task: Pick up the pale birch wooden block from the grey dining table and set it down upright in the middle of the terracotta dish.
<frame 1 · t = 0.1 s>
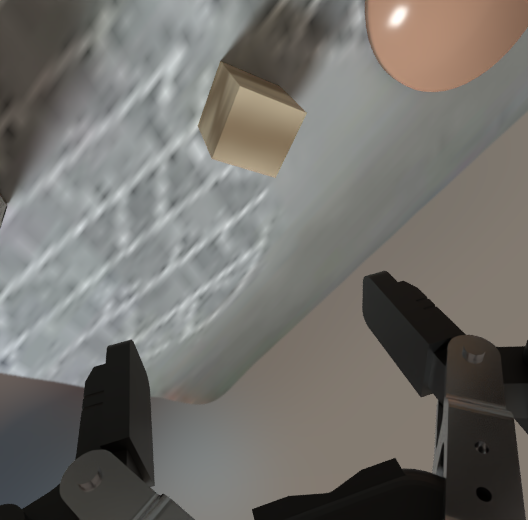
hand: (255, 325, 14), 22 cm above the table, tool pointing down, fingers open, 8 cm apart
birch block: (238, 105, 32), on the table
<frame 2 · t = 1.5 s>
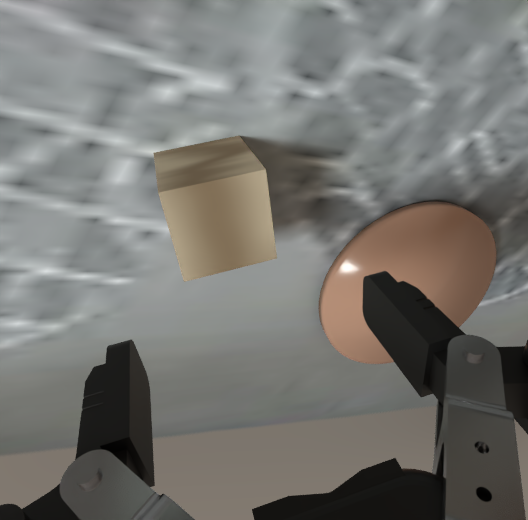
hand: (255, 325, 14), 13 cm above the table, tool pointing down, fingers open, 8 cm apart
birch block: (205, 184, 25), on the table
dish: (401, 283, 33), on the table
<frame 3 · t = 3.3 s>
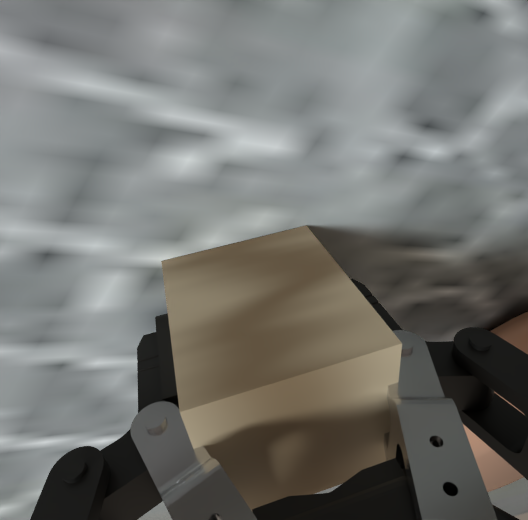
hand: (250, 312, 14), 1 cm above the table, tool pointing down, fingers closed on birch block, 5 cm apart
birch block: (246, 300, 15), on the table, touching gripper
dish: (505, 395, 24), on the table
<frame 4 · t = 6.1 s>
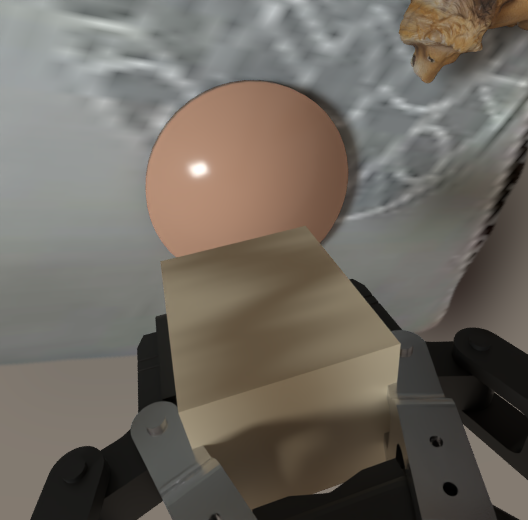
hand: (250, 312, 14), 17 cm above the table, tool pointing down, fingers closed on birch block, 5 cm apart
lion figurine: (443, 11, 28), on the table
birch block: (245, 300, 15), point 17 cm above the table, touching gripper
dish: (247, 185, 31), on the table
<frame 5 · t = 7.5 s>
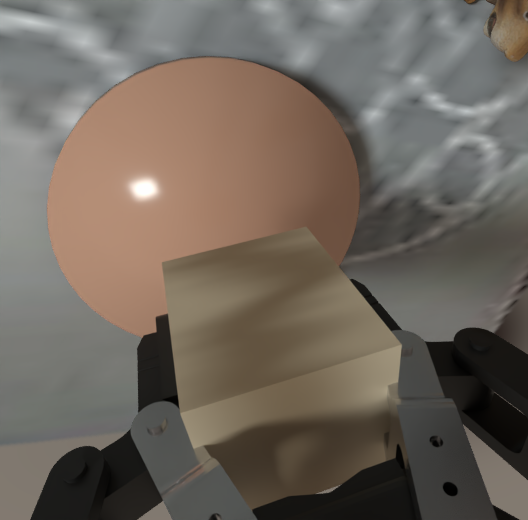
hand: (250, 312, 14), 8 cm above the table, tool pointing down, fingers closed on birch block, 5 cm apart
birch block: (246, 301, 15), point 8 cm above the table, touching gripper
dish: (213, 215, 21), on the table
when the fingers open (4 cm above the table, at t = 8.9 s): birch block drops 1 cm, resting on dish.
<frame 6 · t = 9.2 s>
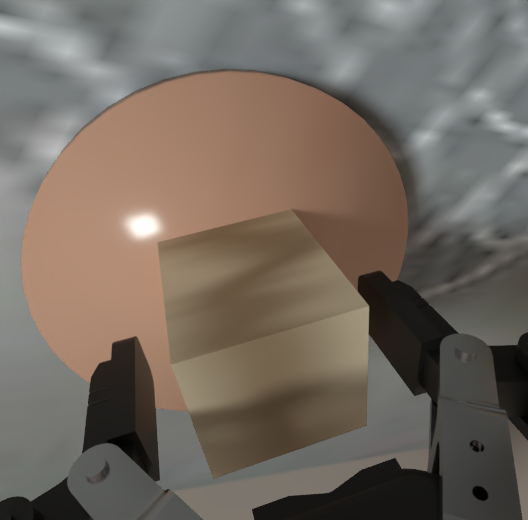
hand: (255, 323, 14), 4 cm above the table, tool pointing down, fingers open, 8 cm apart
birch block: (237, 280, 16), point 2 cm above the table, touching dish
dish: (229, 259, 17), on the table
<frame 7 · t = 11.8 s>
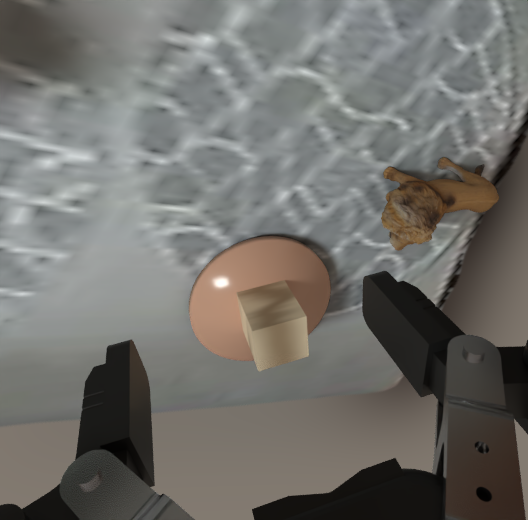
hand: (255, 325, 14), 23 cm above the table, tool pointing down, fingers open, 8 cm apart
lion figurine: (411, 184, 42), on the table
birch block: (263, 305, 42), point 2 cm above the table, touching dish
dish: (259, 296, 43), on the table
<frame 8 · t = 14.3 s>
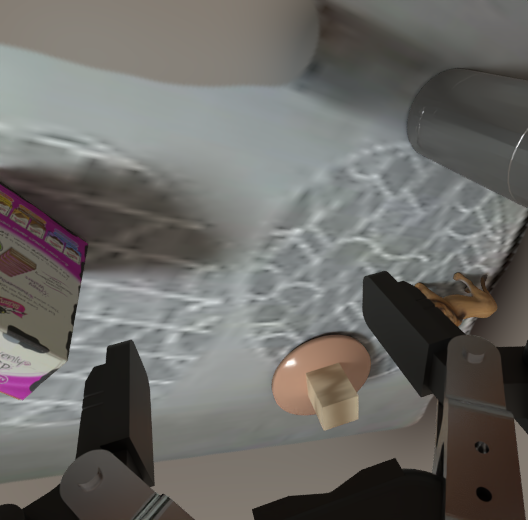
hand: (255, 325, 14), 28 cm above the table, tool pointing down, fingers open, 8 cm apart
lion figurine: (434, 290, 58), on the table
birch block: (323, 379, 58), point 2 cm above the table, touching dish
candy bar box: (22, 224, 38), on the table
dish: (319, 371, 60), on the table
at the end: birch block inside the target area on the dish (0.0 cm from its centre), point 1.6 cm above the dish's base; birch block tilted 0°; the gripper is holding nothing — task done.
